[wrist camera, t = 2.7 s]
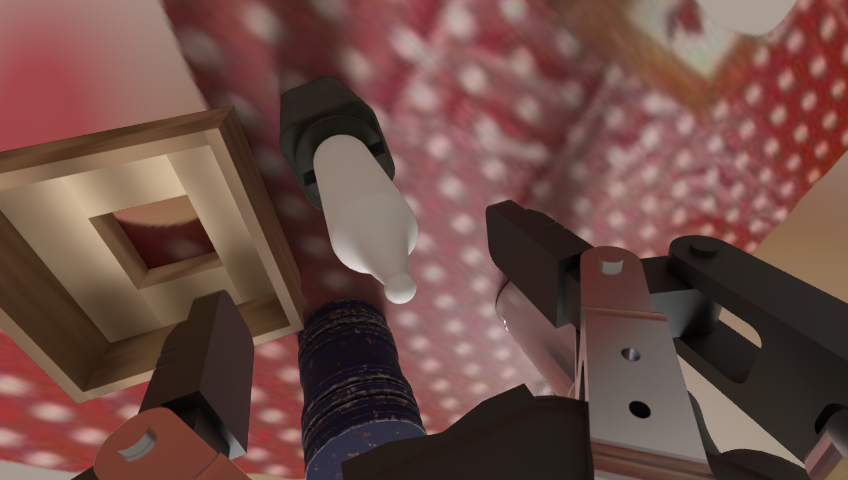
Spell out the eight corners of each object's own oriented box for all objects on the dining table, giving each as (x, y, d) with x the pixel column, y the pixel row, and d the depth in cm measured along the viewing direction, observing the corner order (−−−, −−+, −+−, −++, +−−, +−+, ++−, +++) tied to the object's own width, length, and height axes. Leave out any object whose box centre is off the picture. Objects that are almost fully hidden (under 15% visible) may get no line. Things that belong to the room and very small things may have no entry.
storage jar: (322, 286, 38) (341, 410, 25) (403, 310, 43) (452, 425, 30) (281, 358, 40) (280, 504, 28) (361, 374, 45) (391, 503, 33)
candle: (274, 95, 29) (253, 265, 8) (336, 71, 29) (472, 167, 8) (306, 156, 31) (351, 399, 11) (362, 132, 32) (510, 320, 11)
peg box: (233, 105, 28) (218, 128, 21) (300, 275, 36) (304, 329, 30) (-18, 155, 25) (-129, 200, 18) (118, 329, 33) (77, 403, 26)
